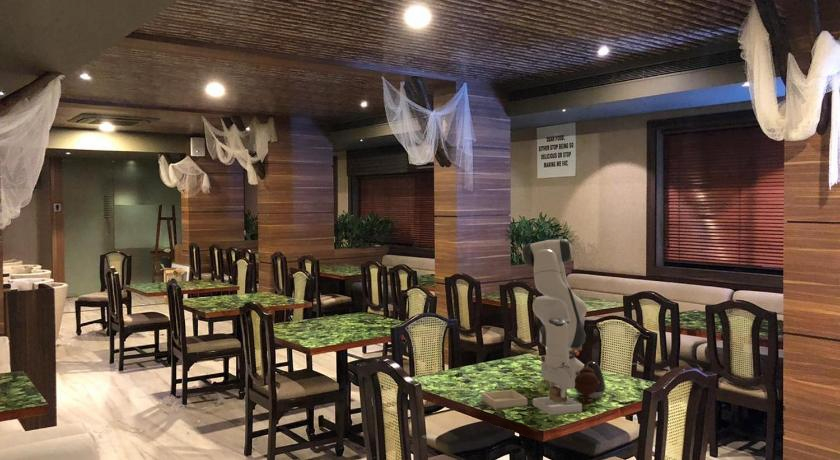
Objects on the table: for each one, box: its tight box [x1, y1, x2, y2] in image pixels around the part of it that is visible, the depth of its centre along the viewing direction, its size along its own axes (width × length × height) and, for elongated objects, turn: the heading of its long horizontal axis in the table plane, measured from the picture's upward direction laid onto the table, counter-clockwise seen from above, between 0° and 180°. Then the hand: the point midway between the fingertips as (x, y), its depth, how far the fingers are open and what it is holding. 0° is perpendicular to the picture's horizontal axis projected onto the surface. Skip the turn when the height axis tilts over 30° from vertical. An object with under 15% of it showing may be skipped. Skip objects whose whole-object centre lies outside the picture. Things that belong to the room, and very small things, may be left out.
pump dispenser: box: [584, 361, 606, 400], centre depth 288 cm, size 10×10×15 cm
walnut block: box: [548, 385, 568, 403], centre depth 270 cm, size 5×5×5 cm
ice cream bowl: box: [574, 367, 600, 405], centre depth 277 cm, size 11×11×15 cm
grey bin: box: [532, 396, 583, 416], centre depth 270 cm, size 14×14×4 cm
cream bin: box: [481, 389, 528, 411], centre depth 279 cm, size 14×14×4 cm
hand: (558, 394), depth 270 cm, fingers closed on walnut block, 5 cm apart
